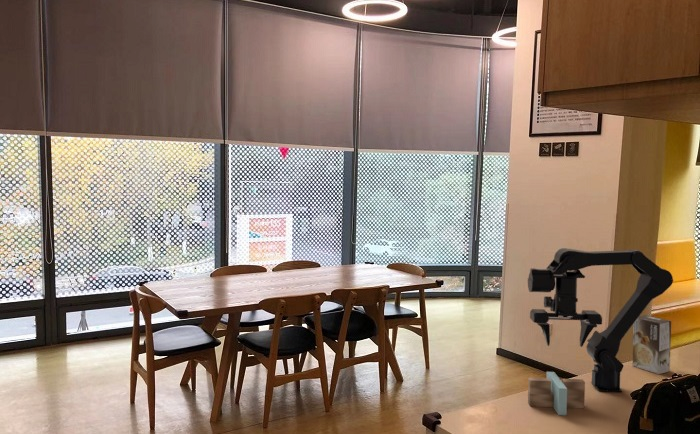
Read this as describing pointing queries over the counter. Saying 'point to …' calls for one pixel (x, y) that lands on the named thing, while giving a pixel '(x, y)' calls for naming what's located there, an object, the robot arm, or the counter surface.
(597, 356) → the robot arm
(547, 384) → the walnut slotted plate
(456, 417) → the counter surface
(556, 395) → the teal slotted plate
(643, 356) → the coffee box
